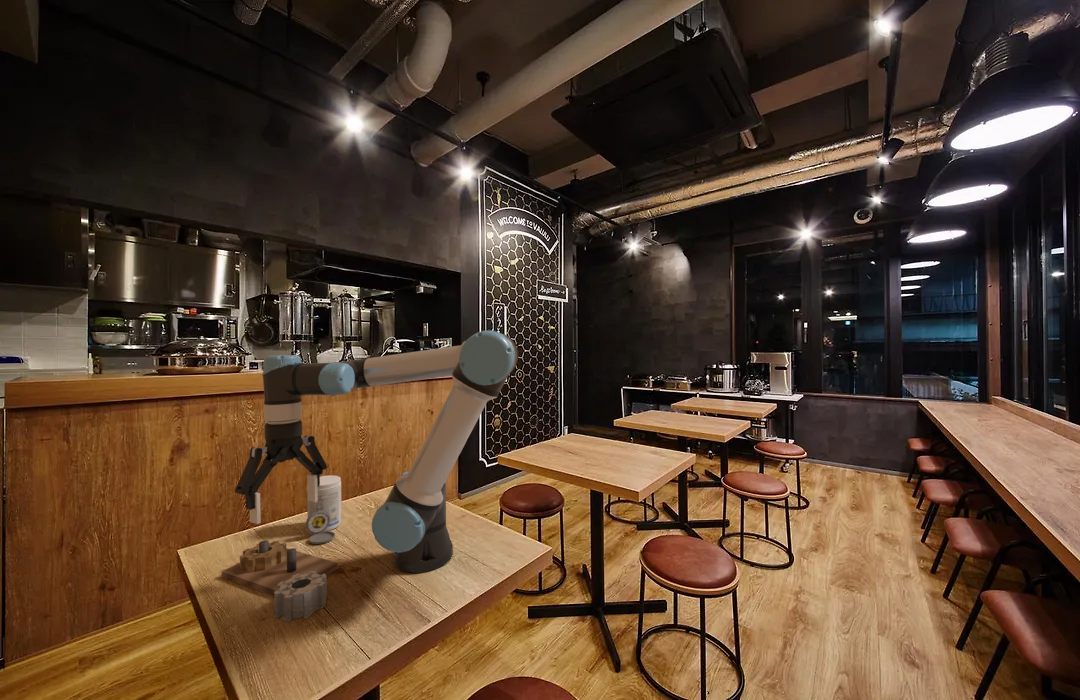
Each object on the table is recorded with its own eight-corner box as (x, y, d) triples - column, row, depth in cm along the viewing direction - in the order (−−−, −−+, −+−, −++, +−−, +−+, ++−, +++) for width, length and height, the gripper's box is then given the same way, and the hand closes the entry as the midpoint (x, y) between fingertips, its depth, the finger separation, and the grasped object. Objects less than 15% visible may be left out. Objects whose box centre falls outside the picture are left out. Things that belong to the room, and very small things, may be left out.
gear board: (338, 568, 105) (337, 543, 105) (284, 600, 92) (284, 571, 92) (277, 551, 114) (277, 527, 114) (221, 577, 101) (221, 551, 101)
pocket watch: (324, 546, 117) (323, 511, 116) (298, 543, 118) (297, 509, 118) (343, 533, 125) (343, 500, 124) (319, 531, 126) (318, 498, 126)
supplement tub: (314, 521, 133) (313, 475, 133) (345, 518, 135) (345, 474, 135) (302, 534, 124) (301, 485, 124) (336, 532, 125) (335, 484, 125)
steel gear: (336, 599, 92) (336, 577, 92) (295, 626, 84) (295, 601, 83) (306, 589, 96) (306, 567, 96) (264, 614, 87) (264, 590, 87)
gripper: (321, 411, 110) (323, 491, 110) (213, 430, 87) (216, 529, 88) (340, 413, 107) (342, 495, 107) (234, 432, 84) (237, 536, 84)
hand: (285, 511), depth 97 cm, fingers open, 13 cm apart
